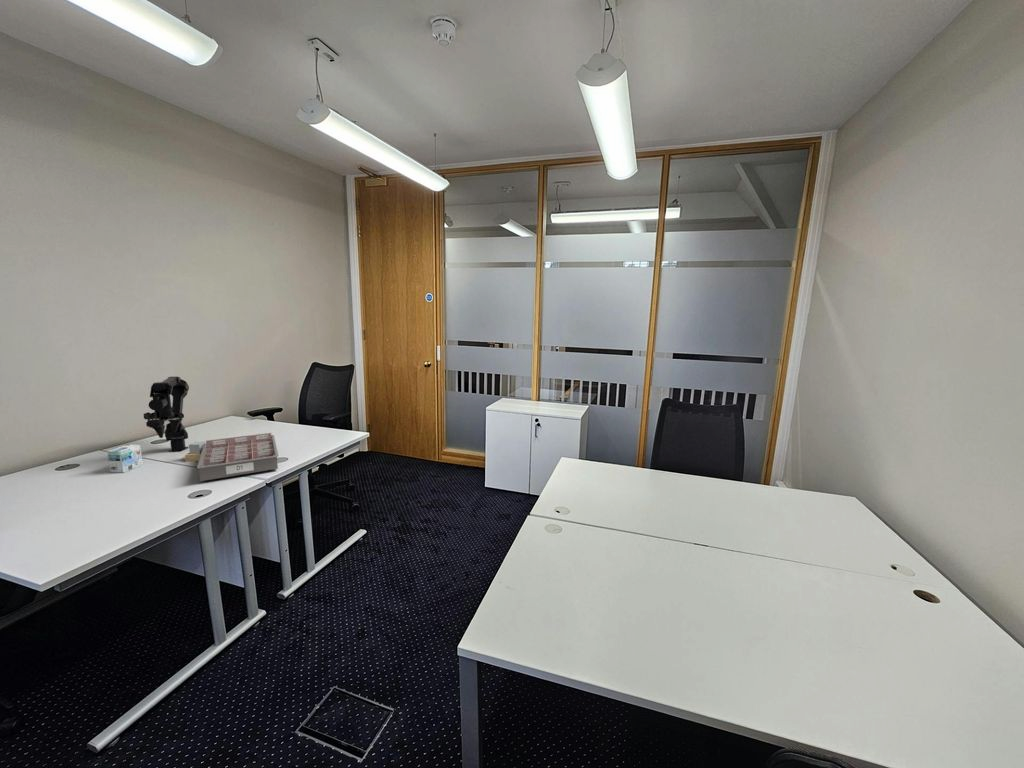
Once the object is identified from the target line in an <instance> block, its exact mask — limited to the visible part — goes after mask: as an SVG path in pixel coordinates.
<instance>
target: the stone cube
mask: <svg viewBox="0 0 1024 768" xmlns="http://www.w3.org/2000/svg"><path fill="white" fill-rule="evenodd" d="M205 443H206V440H205V441H204V440H203V441H194V442H192V443H191V442H190V443H189V444H188V450H189V453H190V454H201V452H202V449H203V446H204V444H205Z"/></svg>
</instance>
